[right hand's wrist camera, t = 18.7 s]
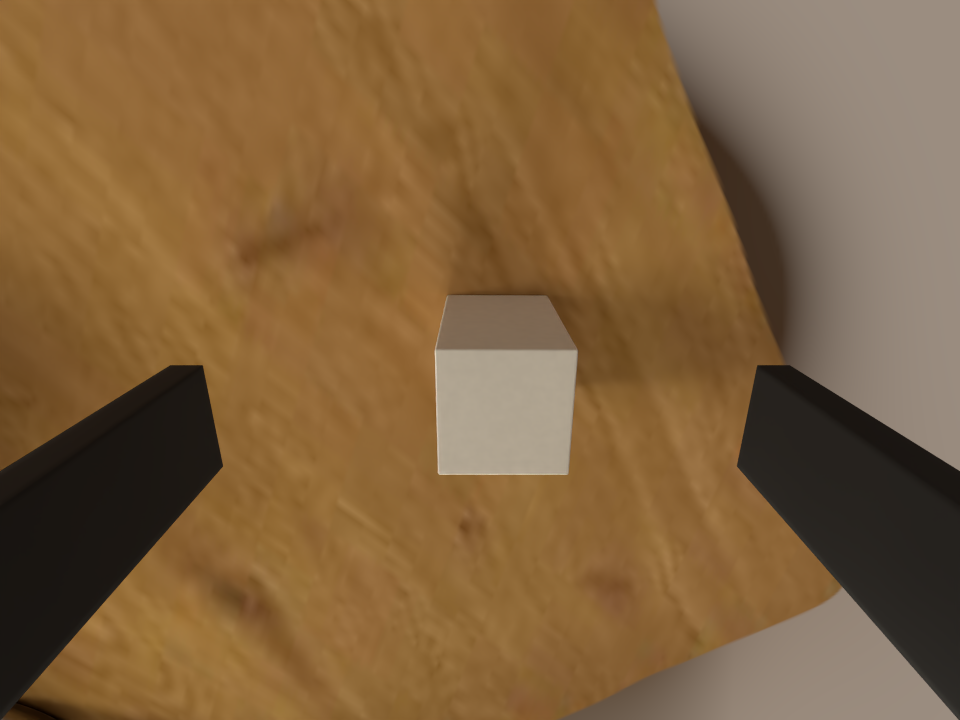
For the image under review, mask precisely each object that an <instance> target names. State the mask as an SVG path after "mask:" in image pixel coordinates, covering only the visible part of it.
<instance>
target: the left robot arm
mask: <svg viewBox="0 0 960 720" xmlns="http://www.w3.org/2000/svg"><path fill="white" fill-rule="evenodd" d="M1 720H56V719H54V718H52V717H50V716H48V715H46V714H44V713H42V712H39V711H37V710H35V709H32V708H29V707H26V706H23V705H20V704H16V703H15V705H14V706H13V707H12V708H11V709H10V710H9V711H8V713H7V714H6V715H5V716H4V717H3V718H2V719H1Z"/></svg>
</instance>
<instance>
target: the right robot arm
mask: <svg viewBox="0 0 960 720" xmlns="http://www.w3.org/2000/svg"><path fill="white" fill-rule="evenodd" d="M222 467H223V464H222V459H221V454H220V449H219V444H218V439H217V434H216V429H215V424H214V419H213V414H212V409H211V404H210V399H209V394H208V389H207V384H206V379H205V375H204V370H203V365H170V366H169V367H167V368H165V369H164V370H162V371H160V372H159V373H157V374H156V375H154V376H152V377H151V378H149V379H148V380H146V381H144V382H143V383H141V384H140V385H138V386H136V387H135V388H133V389H132V390H130V391H128V392H127V393H125V394H124V395H122V396H120V397H119V398H117V399H115V400H114V401H112V402H111V403H109V404H107V405H106V406H104V407H103V408H101V409H99V410H98V411H96V412H95V413H93V414H91V415H90V416H88V417H87V418H85V419H83V420H82V421H80V422H79V423H77V424H75V425H74V426H72V427H70V428H69V429H67V430H66V431H64V432H62V433H61V434H59V435H58V436H56V437H54V438H53V439H51V440H50V441H48V442H46V443H45V444H43V445H42V446H40V447H38V448H37V449H35V450H34V451H32V452H30V453H29V454H27V455H25V456H24V457H22V458H21V459H19V460H17V461H16V462H14V463H13V464H11V465H9V466H8V467H6V468H5V469H3V470H1V471H0V720H1V719H2V718H3V717H4V716H5V715H6V714H7V713H8V711H9V710H10V709H11V708H12V707H13V706H14V705H15V703H16V702H17V701H18V700H19V699H20V698H21V697H22V695H23V694H24V693H25V692H26V691H27V690H28V689H29V687H30V686H31V685H32V684H33V683H34V682H35V681H36V679H37V678H38V677H39V676H40V675H41V674H42V673H43V671H44V670H45V669H46V668H47V667H48V666H49V665H50V663H51V662H52V661H53V660H54V659H55V658H56V657H57V655H58V654H59V653H60V652H61V651H62V650H63V649H64V647H65V646H66V645H67V644H68V643H69V642H70V641H71V639H72V638H73V637H74V636H75V635H76V634H77V633H78V631H79V630H80V629H81V628H82V627H83V626H84V625H85V623H86V622H87V621H88V620H89V619H90V618H91V617H92V615H93V614H94V613H95V612H96V611H97V610H98V609H99V607H100V606H101V605H102V604H103V603H104V602H105V601H106V599H107V598H108V597H109V596H110V595H111V594H112V593H113V591H114V590H115V589H116V588H117V587H118V586H119V585H120V583H121V582H122V581H123V580H124V579H125V578H126V577H127V575H128V574H129V573H130V572H131V571H132V570H133V569H134V567H135V566H136V565H137V564H138V563H139V562H140V561H141V559H142V558H143V557H144V556H145V555H146V554H147V553H148V551H149V550H150V549H151V548H152V547H153V546H154V545H155V543H156V542H157V541H158V540H159V539H160V538H161V537H162V535H163V534H164V533H165V532H166V531H167V530H168V529H169V527H170V526H171V525H172V524H173V523H174V522H175V521H176V519H177V518H178V517H179V516H180V515H181V514H182V513H183V511H184V510H185V509H186V508H187V507H188V506H189V505H190V503H191V502H192V501H193V500H194V499H195V498H196V497H197V495H198V494H199V493H200V492H201V491H202V490H203V489H204V487H205V486H206V485H207V484H208V483H209V482H210V481H211V479H212V478H213V477H214V476H215V475H216V474H217V473H218V471H219V470H220V469H221V468H222ZM737 467H738V468H739V469H740V470H741V471H742V473H743V474H744V475H745V476H746V477H747V478H748V479H749V481H750V482H751V483H752V484H753V485H754V486H755V487H756V489H757V490H758V491H759V492H760V493H761V494H762V495H763V497H764V498H765V499H766V500H767V501H768V502H769V503H770V505H771V506H772V507H773V508H774V509H775V510H776V511H777V513H778V514H779V515H780V516H781V517H782V518H783V519H784V521H785V522H786V523H787V524H788V525H789V526H790V527H791V529H792V530H793V531H794V532H795V533H796V534H797V535H798V537H799V538H800V539H801V540H802V541H803V542H804V543H805V545H806V546H807V547H808V548H809V549H810V550H811V551H812V553H813V554H814V555H815V556H816V557H817V558H818V559H819V561H820V562H821V563H822V564H823V565H824V566H825V567H826V569H827V570H828V571H829V572H830V573H831V574H832V575H833V577H834V578H835V579H836V580H837V581H838V582H839V583H840V585H841V586H842V587H843V588H844V589H845V590H846V591H847V593H848V594H849V595H850V596H851V597H852V598H853V599H854V601H855V602H856V603H857V604H858V605H859V606H860V607H861V609H862V610H863V611H864V612H865V613H866V614H867V615H868V617H869V618H870V619H871V620H872V621H873V622H874V623H875V625H876V626H877V627H878V628H879V629H880V630H881V631H882V632H883V634H884V635H885V636H886V637H887V638H888V639H889V641H890V642H891V643H892V644H893V645H894V646H895V647H896V649H897V650H898V651H899V652H900V653H901V654H902V655H903V657H904V658H905V659H906V660H907V661H908V662H909V663H910V665H911V666H912V667H913V668H914V669H915V670H916V671H917V673H918V674H919V675H920V676H921V677H922V678H923V679H924V681H925V682H926V683H927V684H928V685H929V686H930V687H931V689H932V690H933V691H934V692H935V693H936V694H937V695H938V697H939V698H940V699H941V700H942V701H943V702H944V703H945V705H946V706H947V707H948V708H949V709H950V710H951V711H952V713H953V714H954V715H955V716H956V717H957V718H958V719H959V720H960V471H959V470H957V469H955V468H954V467H952V466H951V465H949V464H947V463H946V462H944V461H943V460H941V459H939V458H938V457H936V456H934V455H933V454H931V453H930V452H928V451H926V450H925V449H923V448H922V447H920V446H918V445H917V444H915V443H914V442H912V441H910V440H909V439H907V438H906V437H904V436H902V435H901V434H899V433H898V432H896V431H894V430H893V429H891V428H890V427H888V426H886V425H885V424H883V423H881V422H880V421H878V420H877V419H875V418H873V417H872V416H870V415H869V414H867V413H865V412H864V411H862V410H861V409H859V408H857V407H856V406H854V405H853V404H851V403H849V402H848V401H846V400H845V399H843V398H841V397H840V396H838V395H836V394H835V393H833V392H832V391H830V390H828V389H827V388H825V387H824V386H822V385H820V384H819V383H817V382H816V381H814V380H812V379H811V378H809V377H807V376H806V375H804V374H803V373H801V372H799V371H798V370H796V369H795V368H793V367H791V366H790V365H757V370H756V375H755V379H754V384H753V389H752V394H751V399H750V404H749V409H748V414H747V419H746V424H745V429H744V434H743V439H742V444H741V449H740V454H739V459H738V464H737Z"/></svg>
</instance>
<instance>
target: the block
mask: <svg viewBox="0 0 960 720" xmlns="http://www.w3.org/2000/svg"><path fill="white" fill-rule="evenodd" d="M577 358H578V349H577V348H576V346H575V344H574V342H573V341H572V339H571V337H570V335H569V333H568V332H567V330H566V328H565V326H564V325H563V323H562V321H561V319H560V317H559V316H558V314H557V312H556V310H555V309H554V307H553V305H552V303H551V301H550V300H549V298H548V296H546V295H447V298H446V303H445V307H444V312H443V316H442V321H441V325H440V330H439V334H438V339H437V343H436V348H435V375H436V412H437V449H438V473H439V474H510V475H567V474H568V473H569V460H570V447H571V435H572V422H573V409H574V397H575V384H576V371H577Z"/></svg>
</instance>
